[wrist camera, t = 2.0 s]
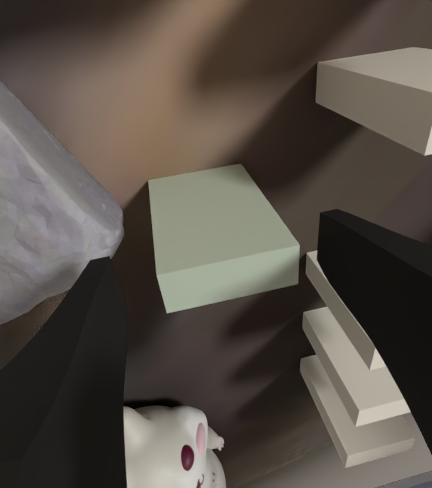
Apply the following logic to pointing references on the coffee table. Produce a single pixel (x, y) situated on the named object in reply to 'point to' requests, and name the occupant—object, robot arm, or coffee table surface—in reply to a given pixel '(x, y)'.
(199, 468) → the cat figurine
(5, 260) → the stone block
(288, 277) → the tile
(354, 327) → the tile
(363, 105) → the tile
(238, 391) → the coffee table surface
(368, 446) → the tile
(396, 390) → the tile
